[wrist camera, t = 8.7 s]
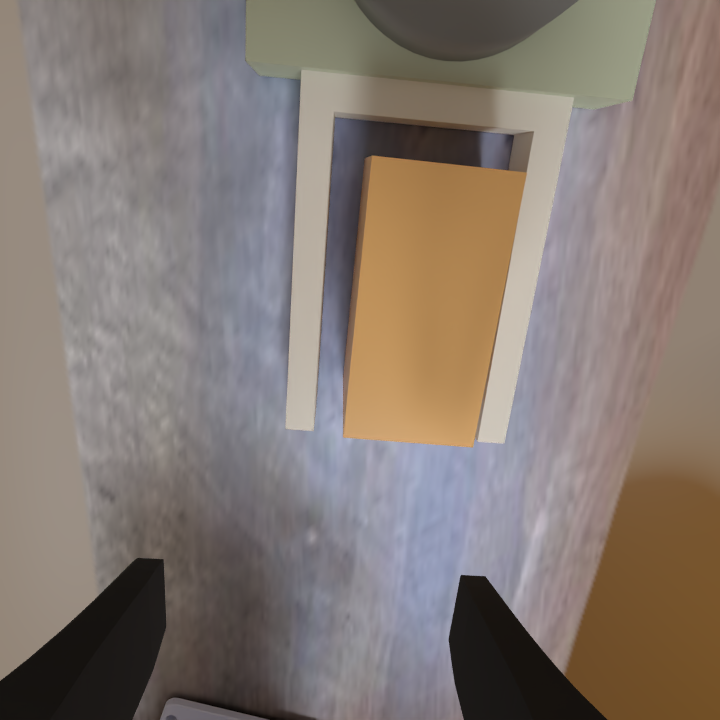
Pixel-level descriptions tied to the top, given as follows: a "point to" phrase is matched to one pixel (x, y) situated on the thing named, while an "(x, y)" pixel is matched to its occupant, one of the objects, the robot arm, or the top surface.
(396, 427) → the chute block
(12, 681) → the robot arm
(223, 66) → the top surface
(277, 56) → the green base with dome
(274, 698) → the top surface
